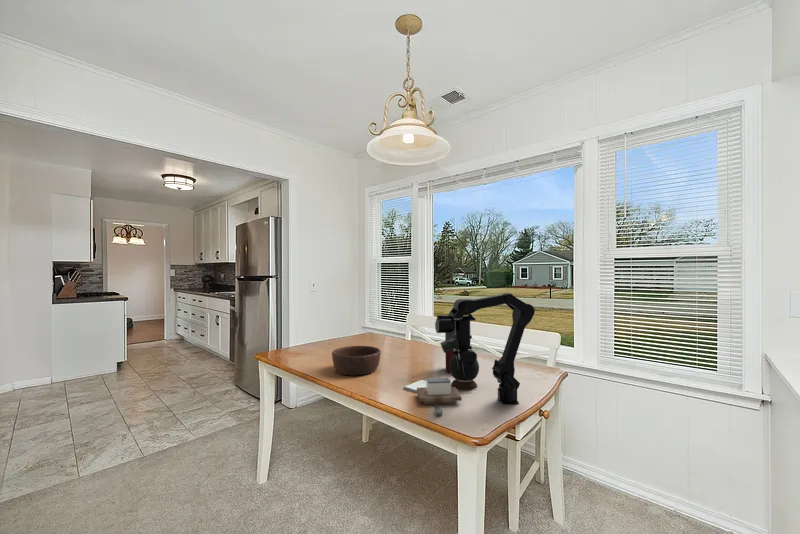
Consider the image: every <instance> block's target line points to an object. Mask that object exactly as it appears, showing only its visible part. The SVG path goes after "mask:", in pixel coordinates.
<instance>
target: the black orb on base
mask: <svg viewBox="0 0 800 534" xmlns="http://www.w3.org/2000/svg"><path fill="white" fill-rule="evenodd" d="M449 370H450V373H449V374H450V375H451V376H452V378H453V380H452V381H451V387H456V389H457V390H458V391H459V390H460V391H471V390H472V389H473V390H475V388H476V389H477V387H478V384H477V382H476V381H475V379H476V378H477V377H478V374H479V372H480V364H479V361H478V359H477V360H476V361H475V362H474V364H473V366H472V368H471V370H470V372H469V374H468V376H467V377H465V376H464V371H463V368H462V370H460V369H459V366H458V362H457V358H456V355H454V356H453V357H452V358H451V360H450V363H449Z"/></svg>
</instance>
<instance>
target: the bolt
mask: <svg viewBox="0 0 800 534" xmlns="http://www.w3.org/2000/svg"><path fill="white" fill-rule="evenodd" d="M434 410H435V411H434V413H435V415H436V416H437V417H441V416H443V414H444V411H443V409H442V408H441V407H440V406H439V404H435V406H434Z"/></svg>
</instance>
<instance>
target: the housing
mask: <svg viewBox="0 0 800 534" xmlns="http://www.w3.org/2000/svg"><path fill="white" fill-rule="evenodd" d="M425 381H426V391H427V393H428V395H443V394H451V387H452V381H451V380H450V379H449V378H448V377H428V378H426V380H425Z"/></svg>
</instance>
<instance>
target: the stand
mask: <svg viewBox="0 0 800 534" xmlns="http://www.w3.org/2000/svg"><path fill="white" fill-rule="evenodd" d="M416 394H417V396H418V400H419V402H422V403H423V404H424V405H441V404H442V405H444V404H445V405H446V404H447V405H449V404H452V405H453V404H456V402H457V401H462V396H461V393H460V392H459V390H458V389H456V387H452V386H451V394H443V395H428V393H427V391H426V387H425V388H417V393H416Z"/></svg>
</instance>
